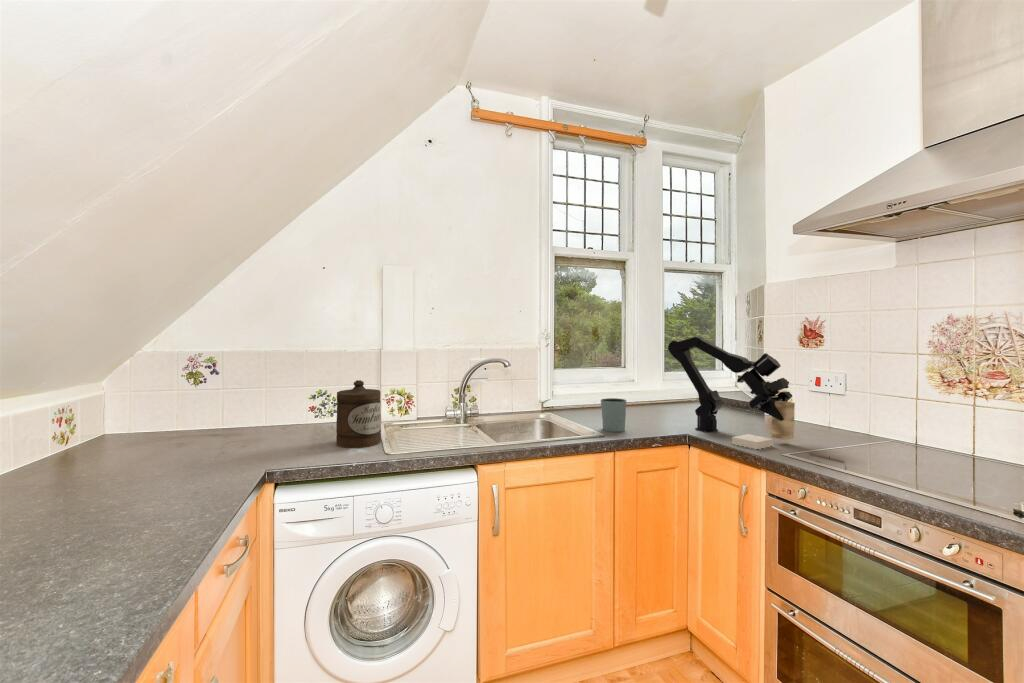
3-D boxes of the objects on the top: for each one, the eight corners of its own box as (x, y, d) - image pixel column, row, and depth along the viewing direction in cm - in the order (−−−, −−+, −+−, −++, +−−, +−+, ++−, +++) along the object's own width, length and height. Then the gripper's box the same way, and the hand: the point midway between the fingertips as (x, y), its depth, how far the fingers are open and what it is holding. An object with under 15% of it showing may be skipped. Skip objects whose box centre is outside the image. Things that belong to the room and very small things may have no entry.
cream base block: (732, 445, 167) (732, 437, 167) (747, 442, 171) (747, 434, 171) (757, 451, 159) (757, 442, 159) (772, 447, 164) (772, 439, 164)
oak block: (771, 437, 169) (772, 401, 168) (779, 435, 171) (780, 400, 171) (785, 439, 164) (786, 403, 164) (793, 438, 167) (794, 402, 166)
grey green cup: (624, 433, 184) (625, 402, 184) (598, 431, 188) (598, 400, 187) (627, 428, 194) (627, 398, 194) (602, 426, 197) (602, 397, 197)
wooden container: (355, 450, 157) (355, 383, 156) (327, 444, 165) (327, 380, 164) (389, 441, 169) (389, 379, 169) (362, 436, 177) (361, 377, 177)
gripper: (757, 371, 166) (789, 407, 156) (787, 369, 175) (818, 403, 166) (736, 391, 173) (765, 427, 163) (766, 388, 182) (795, 422, 173)
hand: (787, 419), depth 166 cm, fingers closed on oak block, 5 cm apart
